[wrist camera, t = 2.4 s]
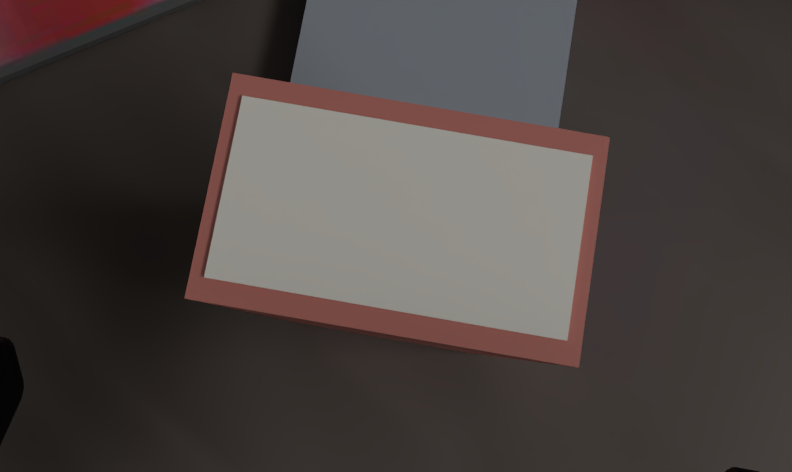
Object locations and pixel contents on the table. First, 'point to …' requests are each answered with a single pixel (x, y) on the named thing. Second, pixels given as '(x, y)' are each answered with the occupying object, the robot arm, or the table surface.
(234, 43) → the table surface
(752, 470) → the robot arm
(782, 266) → the table surface
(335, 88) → the bookstand
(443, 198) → the book
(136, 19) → the tablet
